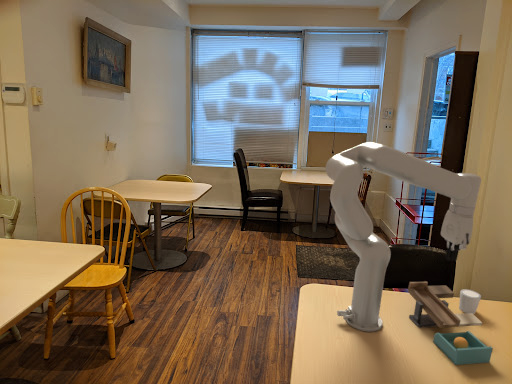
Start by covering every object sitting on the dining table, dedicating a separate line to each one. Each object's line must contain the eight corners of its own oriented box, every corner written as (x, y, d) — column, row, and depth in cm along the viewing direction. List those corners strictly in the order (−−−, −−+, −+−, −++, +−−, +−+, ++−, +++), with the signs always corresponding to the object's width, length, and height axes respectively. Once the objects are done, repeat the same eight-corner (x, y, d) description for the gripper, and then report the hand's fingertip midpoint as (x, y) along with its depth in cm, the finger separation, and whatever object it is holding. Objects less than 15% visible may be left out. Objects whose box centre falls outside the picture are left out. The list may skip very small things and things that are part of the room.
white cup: (480, 316, 138) (484, 299, 136) (460, 313, 139) (463, 296, 137) (473, 306, 144) (477, 290, 142) (454, 303, 145) (458, 287, 144)
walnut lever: (439, 327, 121) (442, 317, 120) (407, 291, 140) (409, 282, 139) (481, 325, 124) (484, 315, 123) (444, 289, 142) (447, 280, 141)
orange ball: (460, 352, 114) (459, 339, 115) (451, 349, 118) (450, 335, 119) (471, 351, 115) (470, 338, 115) (462, 348, 119) (461, 335, 119)
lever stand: (418, 327, 129) (421, 307, 127) (408, 317, 134) (412, 298, 133) (449, 325, 131) (453, 306, 129) (438, 315, 136) (442, 297, 135)
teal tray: (455, 364, 111) (458, 350, 110) (433, 341, 121) (435, 328, 120) (489, 362, 113) (492, 348, 111) (464, 339, 123) (467, 326, 122)
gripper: (438, 203, 132) (429, 251, 137) (465, 216, 118) (454, 269, 122) (457, 204, 133) (447, 251, 138) (487, 217, 119) (475, 269, 123)
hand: (450, 259), depth 130 cm, fingers closed
